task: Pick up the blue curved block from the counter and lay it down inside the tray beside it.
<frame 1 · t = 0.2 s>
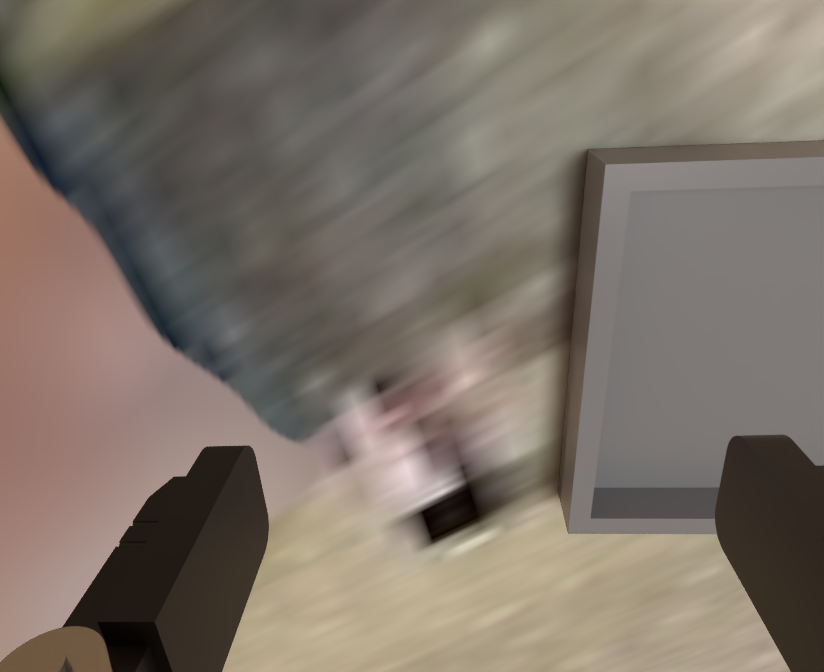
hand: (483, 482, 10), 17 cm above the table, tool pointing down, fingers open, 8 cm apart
tray: (813, 341, 28), on the table
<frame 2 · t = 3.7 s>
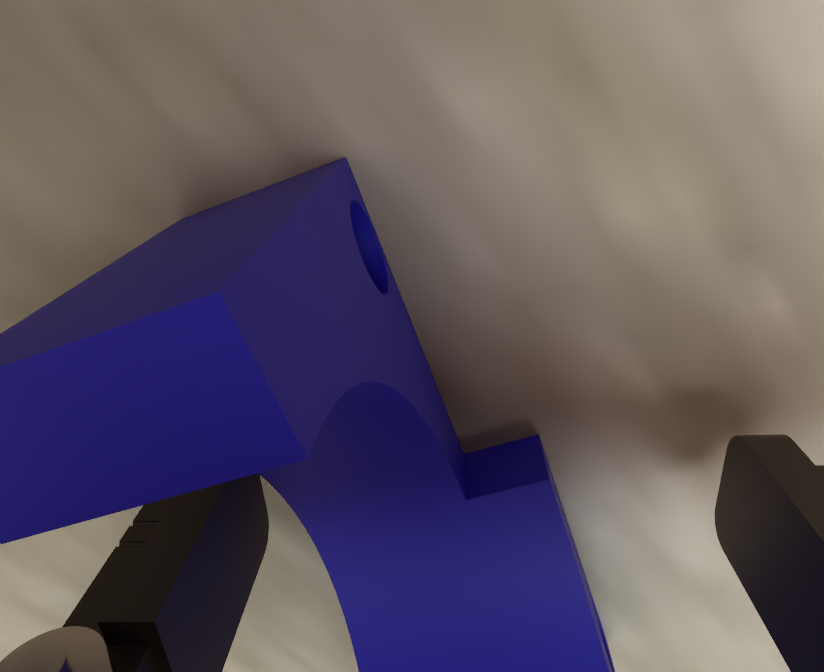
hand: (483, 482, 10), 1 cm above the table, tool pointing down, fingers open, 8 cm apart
blue curved block: (428, 452, 12), on the table
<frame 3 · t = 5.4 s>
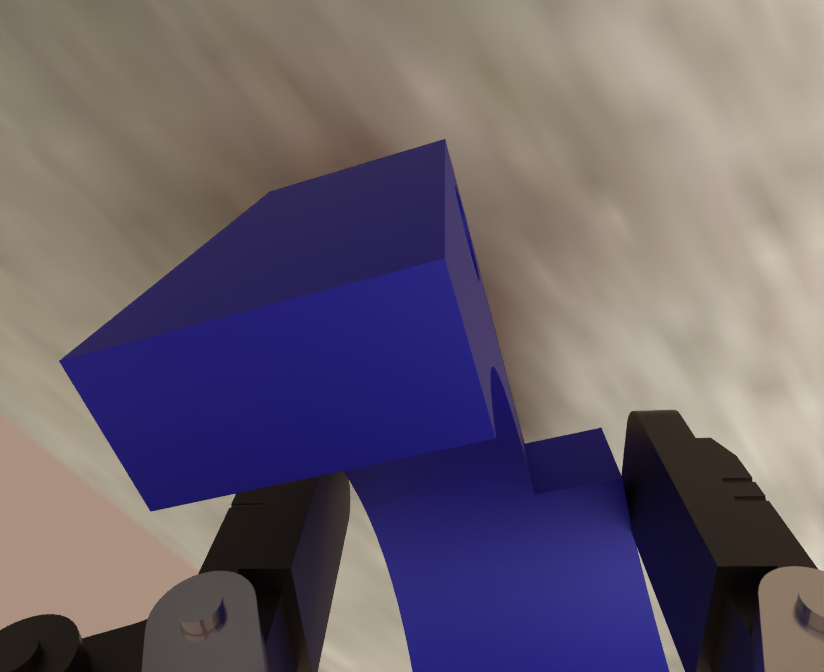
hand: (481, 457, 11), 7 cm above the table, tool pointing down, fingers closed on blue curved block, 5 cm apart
blue curved block: (486, 445, 12), point 6 cm above the table, touching gripper
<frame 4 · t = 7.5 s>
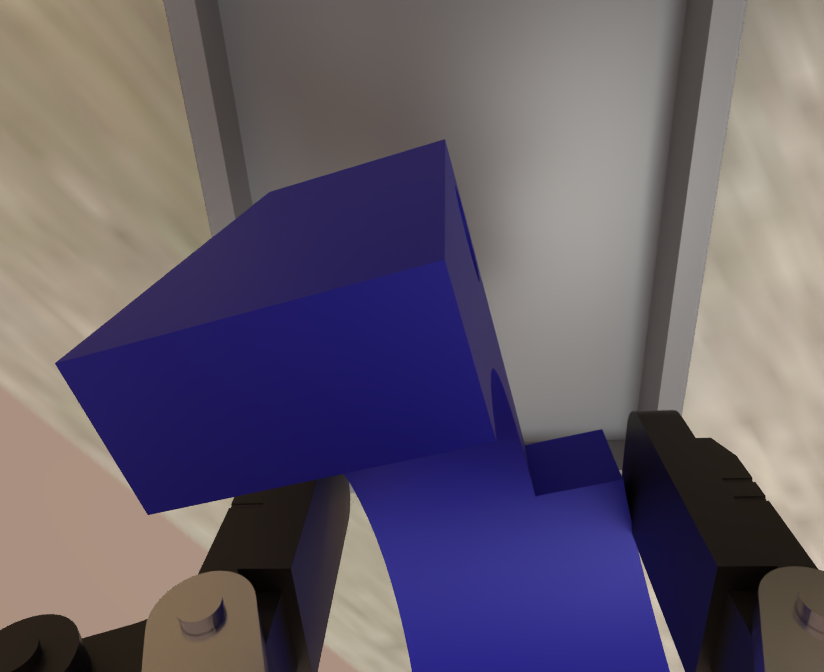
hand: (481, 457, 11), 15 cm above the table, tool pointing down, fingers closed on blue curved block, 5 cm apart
tray: (454, 231, 25), on the table
blue curved block: (487, 446, 12), point 14 cm above the table, touching gripper
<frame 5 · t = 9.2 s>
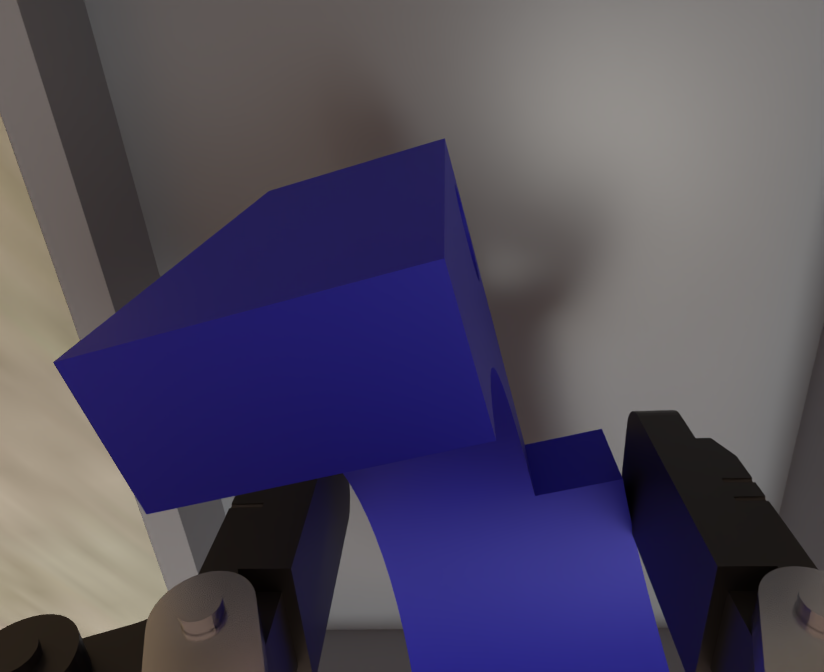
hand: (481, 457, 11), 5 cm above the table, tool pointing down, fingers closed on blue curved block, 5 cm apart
tray: (486, 342, 16), on the table
blue curved block: (486, 446, 12), point 4 cm above the table, touching gripper
when the fingers open (3 cm above the table, at t = 10.6 s): blue curved block drops 1 cm, resting on tray.
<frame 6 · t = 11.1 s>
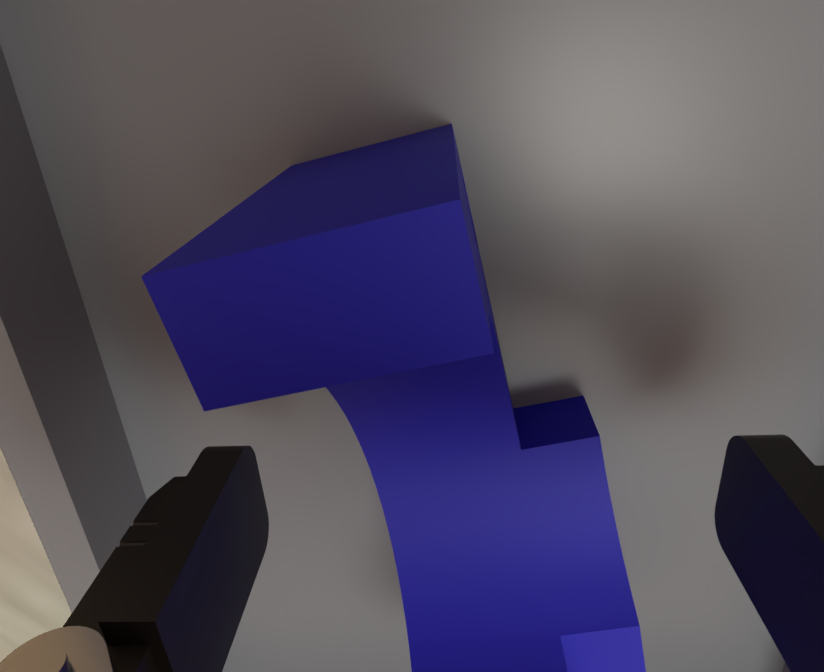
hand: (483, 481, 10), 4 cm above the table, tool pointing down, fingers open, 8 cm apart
tray: (474, 378, 14), on the table
blue curved block: (478, 409, 13), point 1 cm above the table, touching tray
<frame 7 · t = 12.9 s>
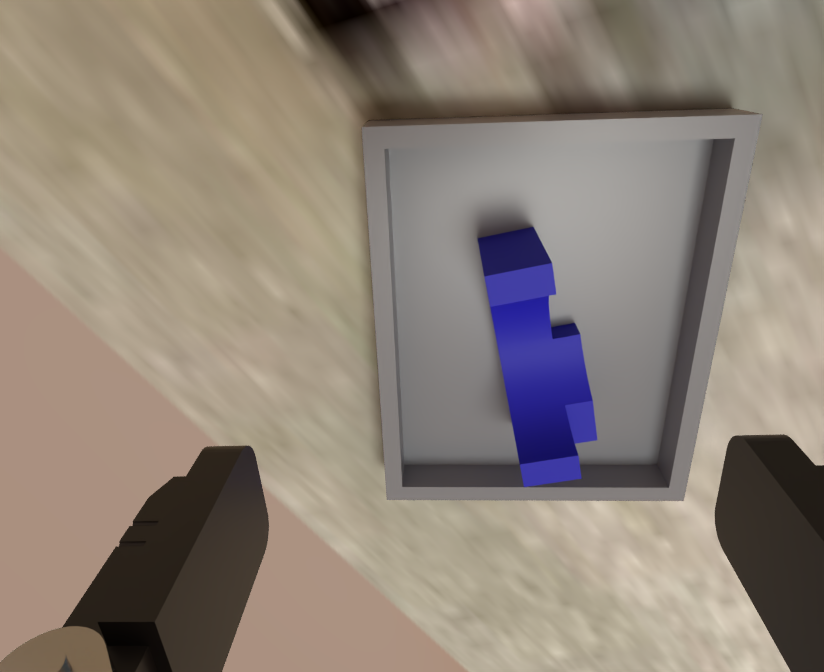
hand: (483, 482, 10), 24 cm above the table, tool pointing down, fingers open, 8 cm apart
tray: (535, 316, 35), on the table
blue curved block: (534, 328, 34), point 1 cm above the table, touching tray
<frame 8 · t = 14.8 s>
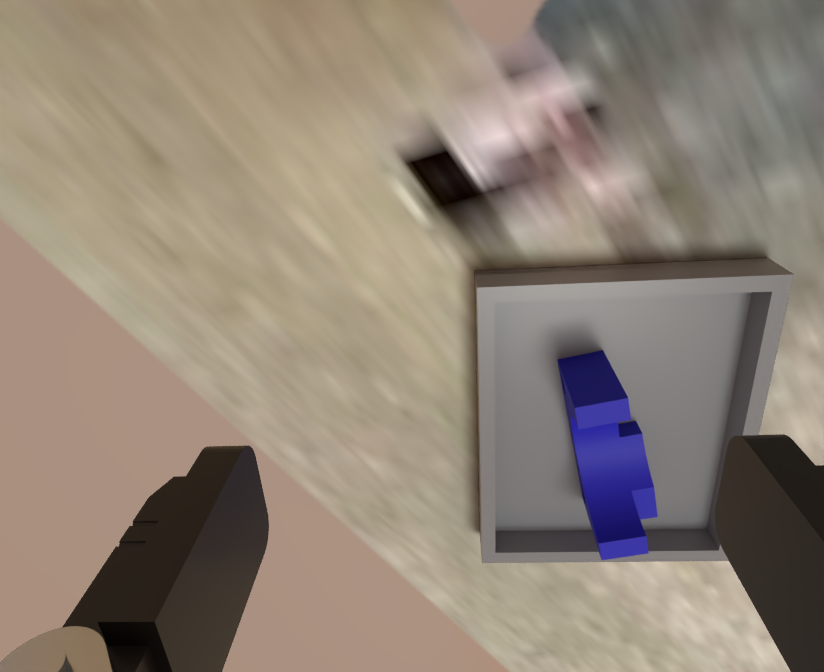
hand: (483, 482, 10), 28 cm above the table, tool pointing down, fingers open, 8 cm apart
tray: (605, 413, 42), on the table
blue curved block: (602, 425, 42), point 1 cm above the table, touching tray
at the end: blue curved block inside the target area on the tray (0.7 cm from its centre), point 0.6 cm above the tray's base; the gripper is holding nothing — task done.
